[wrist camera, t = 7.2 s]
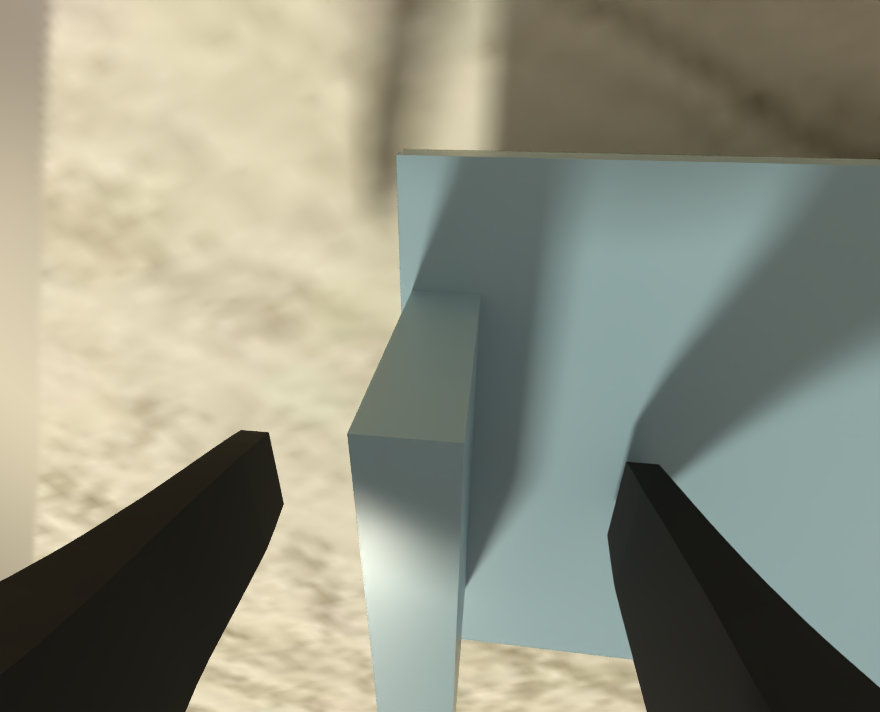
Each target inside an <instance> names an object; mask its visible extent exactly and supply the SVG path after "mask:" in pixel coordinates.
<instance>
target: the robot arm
mask: <svg viewBox="0 0 880 712" xmlns="http://www.w3.org/2000/svg"><path fill="white" fill-rule="evenodd" d="M283 505H284V503H283V498H282V493H281V488H280V484H279V479H278V474H277V469H276V465H275V460H274V455H273V450H272V446H271V441H270V436H269V432H258V431H245V430H240V431H239V432H237V433H236V434H234V435H232V436H231V437H229V438H228V439H226V440H225V441H223V442H222V443H220V444H219V445H217V446H216V447H214V448H213V449H212V450H210V451H209V452H207V453H206V454H204V455H203V456H202V457H200V458H199V459H197V460H196V461H194V462H193V463H191V464H190V465H189V466H187V467H186V468H184V469H183V470H181V471H180V472H178V473H177V474H176V475H174V476H173V477H171V478H170V479H168V480H167V481H165V482H164V483H162V484H161V485H159V486H158V487H157V488H155V489H154V490H152V491H151V492H149V493H148V494H146V495H145V496H143V497H142V498H140V499H139V500H137V501H136V502H134V503H132V504H131V505H129V506H128V507H126V508H125V509H123V510H121V511H120V512H118V513H117V514H115V515H114V516H112V517H110V518H109V519H107V520H106V521H104V522H103V523H101V524H99V525H98V526H96V527H95V528H93V529H92V530H90V531H88V532H87V533H85V534H84V535H82V536H80V537H79V538H77V539H75V540H74V541H72V542H70V543H69V544H67V545H65V546H63V547H62V548H60V549H58V550H56V551H55V552H53V553H51V554H50V555H48V556H46V557H44V558H42V559H41V560H39V561H37V562H35V563H33V564H31V565H30V566H28V567H26V568H24V569H22V570H21V571H19V572H17V573H15V574H13V575H12V576H10V577H8V578H6V579H4V580H2V581H0V712H185V711H186V709H187V707H188V704H189V702H190V699H191V697H192V695H193V692H194V690H195V688H196V685H197V683H198V681H199V679H200V677H201V675H202V673H203V671H204V669H205V667H206V665H207V663H208V660H209V658H210V657H211V655H212V653H213V651H214V649H215V647H216V645H217V643H218V641H219V640H220V638H221V636H222V634H223V632H224V630H225V628H226V626H227V624H228V623H229V621H230V619H231V617H232V615H233V613H234V611H235V609H236V607H237V606H238V604H239V602H240V600H241V598H242V596H243V594H244V592H245V590H246V589H247V587H248V585H249V583H250V581H251V579H252V577H253V575H254V573H255V571H256V569H257V567H258V565H259V564H260V562H261V560H262V558H263V556H264V554H265V552H266V550H267V547H268V545H269V542H270V540H271V537H272V535H273V532H274V529H275V527H276V524H277V521H278V518H279V516H280V513H281V510H282V507H283ZM607 538H608V545H609V553H610V561H611V568H612V574H613V581H614V587H615V591H616V595H617V599H618V603H619V607H620V611H621V615H622V619H623V623H624V627H625V630H626V634H627V638H628V642H629V646H630V649H631V653H632V657H633V661H634V665H635V668H636V672H637V676H638V680H639V684H640V687H641V691H642V695H643V699H644V703H645V706H646V710H647V712H880V687H879V686H877V685H876V684H875V683H874V682H873V681H872V680H871V679H870V678H868V677H867V676H866V675H865V674H864V673H863V672H862V671H860V670H859V669H858V668H857V667H856V666H855V665H854V664H853V663H851V662H850V661H849V660H848V659H847V658H846V657H845V656H844V655H842V654H841V653H840V652H839V651H838V650H837V649H836V648H834V647H833V646H832V645H831V644H830V643H829V642H828V641H827V640H826V639H824V638H823V637H822V636H821V635H820V634H819V633H818V632H817V631H816V630H815V629H814V628H813V627H812V626H810V625H809V624H808V623H807V622H806V621H805V620H804V619H803V618H802V617H801V616H800V615H799V614H798V613H797V612H796V611H795V610H794V609H793V608H792V607H791V606H790V605H789V604H788V603H787V602H786V601H785V600H784V599H783V598H782V597H781V596H780V595H779V594H778V593H777V592H776V591H775V590H774V589H773V588H771V587H770V586H769V585H768V584H767V583H766V582H765V581H764V579H763V578H762V577H761V576H760V575H759V574H758V573H757V572H756V571H755V570H754V569H753V568H752V567H751V566H750V565H749V564H748V563H747V562H746V561H745V560H744V559H743V558H742V557H741V556H740V554H739V553H738V552H737V551H736V550H735V549H734V548H733V547H732V546H731V545H730V544H729V543H728V542H727V541H726V539H725V538H724V537H723V536H722V535H721V534H720V533H719V532H718V531H717V530H716V528H715V527H714V526H713V525H712V524H711V523H710V522H709V521H708V520H707V518H706V517H705V516H704V515H703V514H702V513H701V512H700V510H699V509H698V508H697V507H696V506H695V505H694V504H693V503H692V501H691V500H690V499H689V498H688V497H687V496H686V495H685V493H684V492H683V491H682V490H681V489H680V488H679V486H678V485H677V484H676V483H675V482H674V481H673V480H672V478H671V477H670V476H669V475H668V474H667V473H666V472H665V470H664V469H663V468H662V467H661V466H660V465H659V464H649V463H637V462H626V464H625V468H624V472H623V476H622V480H621V483H620V487H619V491H618V495H617V499H616V503H615V507H614V511H613V514H612V518H611V522H610V526H609V530H608V534H607Z"/></svg>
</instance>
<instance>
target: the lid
mask: <svg viewBox="0 0 880 712" xmlns="http://www.w3.org/2000/svg"><path fill="white" fill-rule="evenodd" d="M396 169H397V198H398V227H399V257H400V286H401V316H400V318H399V320H398V323H397V325H396V327H395V329H394V331H393V334H392V336H391V338H390V340H389V343H388V345H387V347H386V349H385V351H384V354H383V356H382V358H381V360H380V362H379V365H378V367H377V369H376V371H375V374H374V376H373V378H372V380H371V382H370V385H369V387H368V389H367V391H366V394H365V396H364V398H363V400H362V402H361V405H360V407H359V409H358V411H357V413H356V416H355V418H354V420H353V422H352V425H351V427H350V429H349V431H348V433H347V435H348V444H349V453H350V463H351V472H352V481H353V490H354V499H355V508H356V518H357V527H358V536H359V545H360V554H361V563H362V573H363V582H364V591H365V600H366V609H367V618H368V627H369V637H370V646H371V655H372V664H373V673H374V682H375V692H376V701H377V710H378V712H456V701H457V688H458V675H459V662H460V649H461V639H465V640H473V641H482V642H490V643H498V644H507V645H515V646H523V647H532V648H540V649H548V650H557V651H565V652H573V653H582V654H590V655H598V656H607V657H615V658H623V659H631V660H633V657H632V653H631V649H630V646H629V642H628V638H627V634H626V630H625V627H624V623H623V619H622V615H621V611H620V607H619V603H618V599H617V595H616V591H615V587H614V581H613V574H612V568H611V561H610V553H609V545H608V538H607V534H608V530H609V526H610V522H611V518H612V514H613V511H614V507H615V503H616V499H617V495H618V491H619V487H620V483H621V480H622V476H623V472H624V468H625V464H626V462H637V463H649V464H659V465H660V466H661V467H662V468H663V469H664V470H665V472H666V473H667V474H668V475H669V476H670V477H671V478H672V480H673V481H674V482H675V483H676V484H677V485H678V486H679V488H680V489H681V490H682V491H683V492H684V493H685V495H686V496H687V497H688V498H689V499H690V500H691V501H692V503H693V504H694V505H695V506H696V507H697V508H698V509H699V510H700V512H701V513H702V514H703V515H704V516H705V517H706V518H707V520H708V521H709V522H710V523H711V524H712V525H713V526H714V527H715V528H716V530H717V531H718V532H719V533H720V534H721V535H722V536H723V537H724V538H725V539H726V541H727V542H728V543H729V544H730V545H731V546H732V547H733V548H734V549H735V550H736V551H737V552H738V553H739V554H740V556H741V557H742V558H743V559H744V560H745V561H746V562H747V563H748V564H749V565H750V566H751V567H752V568H753V569H754V570H755V571H756V572H757V573H758V574H759V575H760V576H761V577H762V578H763V579H764V581H765V582H766V583H767V584H768V585H769V586H770V587H771V588H773V589H774V590H775V591H776V592H777V593H778V594H779V595H780V596H781V597H782V598H783V599H784V600H785V601H786V602H787V603H788V604H789V605H790V606H791V607H792V608H793V609H794V610H795V611H796V612H797V613H798V614H799V615H800V616H801V617H802V618H803V619H804V620H805V621H806V622H807V623H808V624H809V625H810V626H812V627H813V628H814V629H815V630H816V631H817V632H818V633H819V634H820V635H821V636H822V637H823V638H824V639H826V640H827V641H828V642H829V643H830V644H831V645H832V646H833V647H834V648H836V649H837V650H838V651H839V652H840V653H841V654H842V655H844V656H845V657H846V658H847V659H848V660H849V661H850V662H851V663H853V664H854V665H855V666H856V667H857V668H858V669H859V670H860V671H862V672H863V673H864V674H865V675H866V676H867V677H868V678H870V679H871V680H872V681H873V682H874V683H875V684H876V685H877V686H879V687H880V159H842V158H796V157H750V156H704V155H658V154H612V153H566V152H520V151H474V150H429V149H404V150H403V151H401V152H400V153H398V154H397V155H396Z"/></svg>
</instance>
